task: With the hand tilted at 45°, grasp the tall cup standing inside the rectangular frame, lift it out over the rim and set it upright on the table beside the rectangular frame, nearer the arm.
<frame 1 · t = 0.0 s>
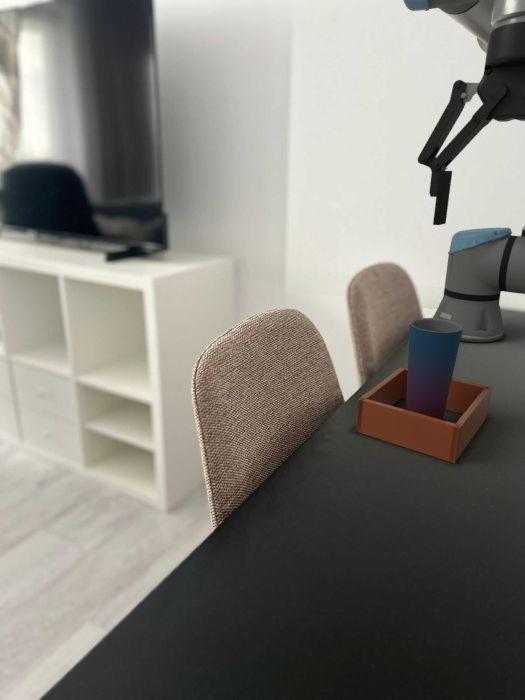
hand: (495, 228, 62), 28 cm above the table, tool pointing down, fingers open, 13 cm apart
cup: (422, 425, 74), resting in rectangular frame
rectangular frame: (423, 424, 74), on the table
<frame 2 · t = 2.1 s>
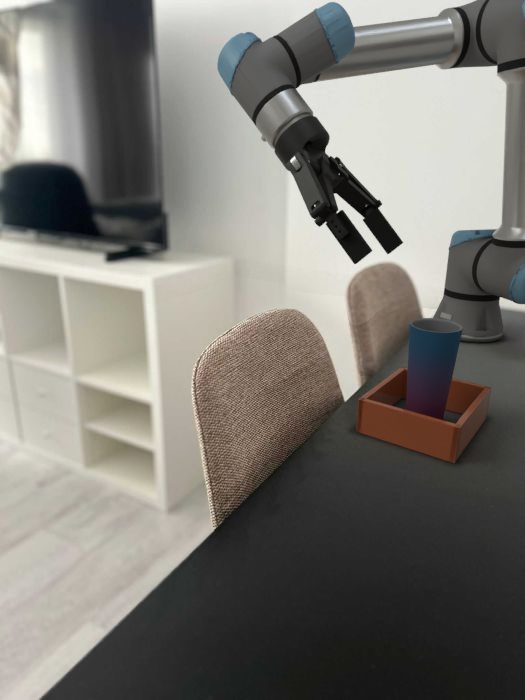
hand: (380, 253, 71), 24 cm above the table, tool tilted 45°, fingers open, 13 cm apart
nothing on the table moved.
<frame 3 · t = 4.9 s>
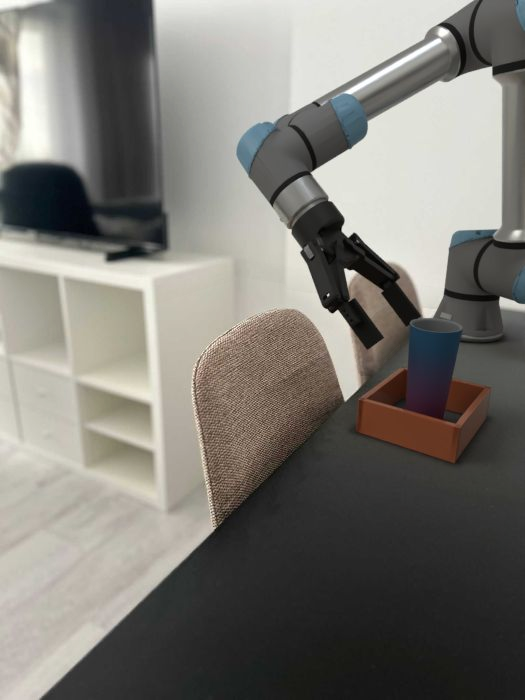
hand: (396, 332, 72), 13 cm above the table, tool tilted 45°, fingers open, 13 cm apart
nothing on the table moved.
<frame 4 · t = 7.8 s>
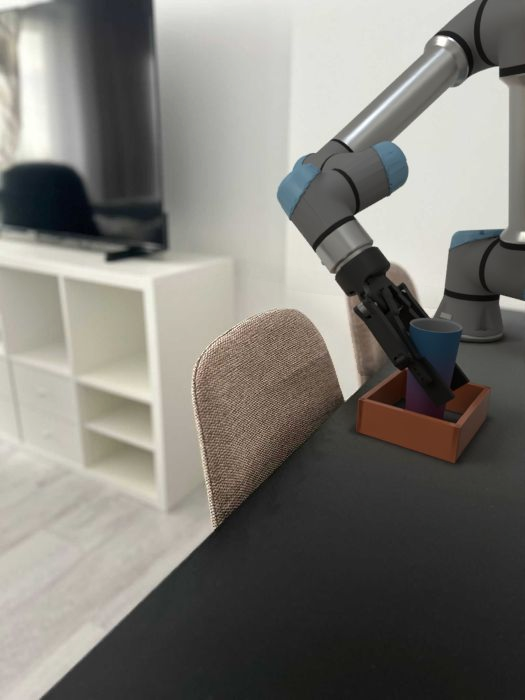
hand: (453, 393, 70), 6 cm above the table, tool tilted 45°, fingers closed on cup, 6 cm apart
cup: (422, 425, 74), resting in rectangular frame, touching gripper
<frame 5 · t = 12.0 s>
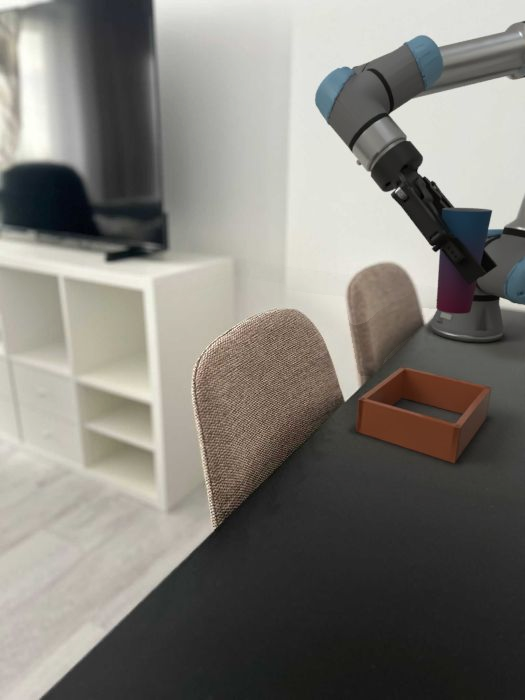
hand: (483, 274, 75), 20 cm above the table, tool tilted 45°, fingers closed on cup, 6 cm apart
cup: (453, 310, 79), point 14 cm above the table, touching gripper
when the fingers open (6 cm above the table, at t = 16.6 s): cup stays where it is, on the table.
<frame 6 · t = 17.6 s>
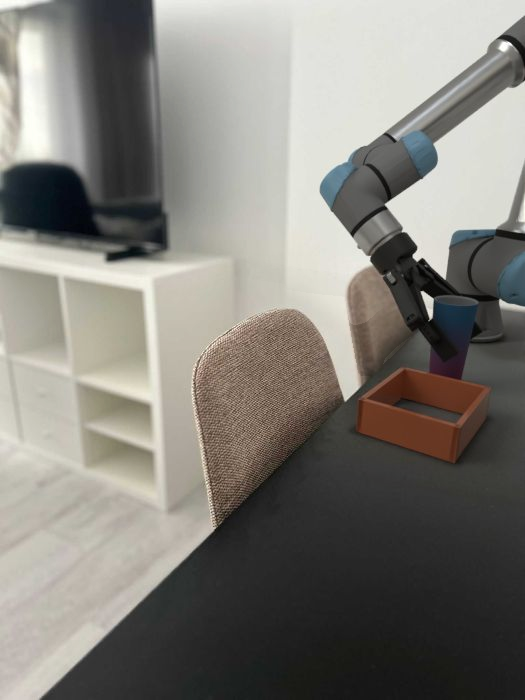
hand: (464, 346, 83), 8 cm above the table, tool tilted 45°, fingers open, 13 cm apart
cup: (443, 387, 87), on the table
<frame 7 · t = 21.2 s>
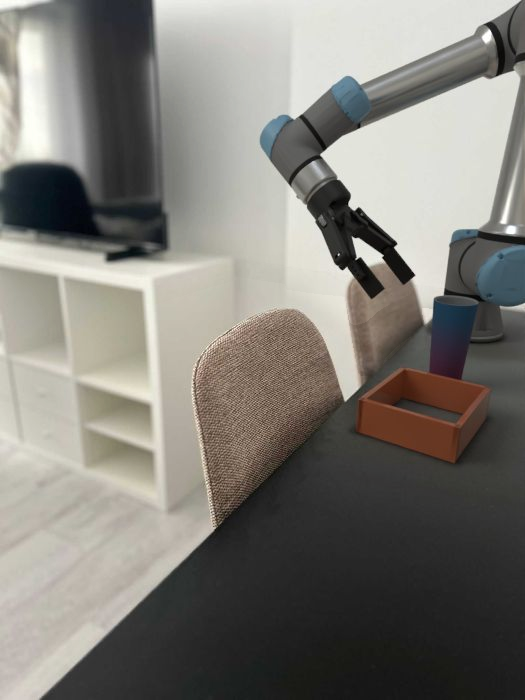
hand: (394, 287, 88), 16 cm above the table, tool tilted 45°, fingers open, 13 cm apart
nothing on the table moved.
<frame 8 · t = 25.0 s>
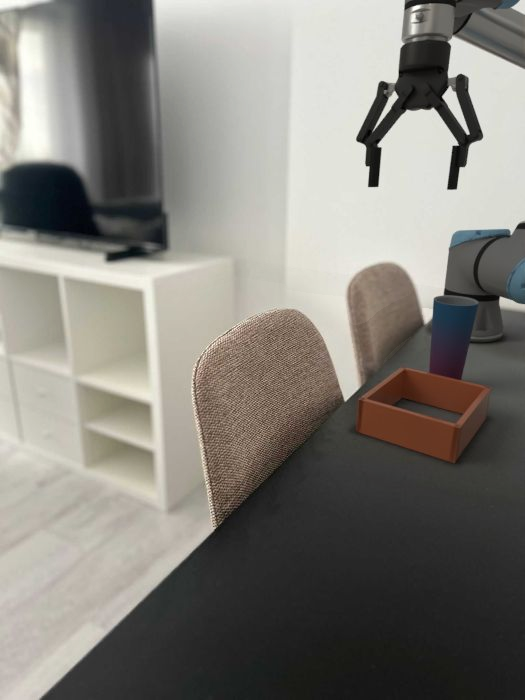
hand: (410, 188, 86), 32 cm above the table, tool pointing down, fingers open, 13 cm apart
nothing on the table moved.
at the end: cup inside the target area (0.2 cm from its centre), on the table; cup tilted 0°; the gripper is holding nothing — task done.
